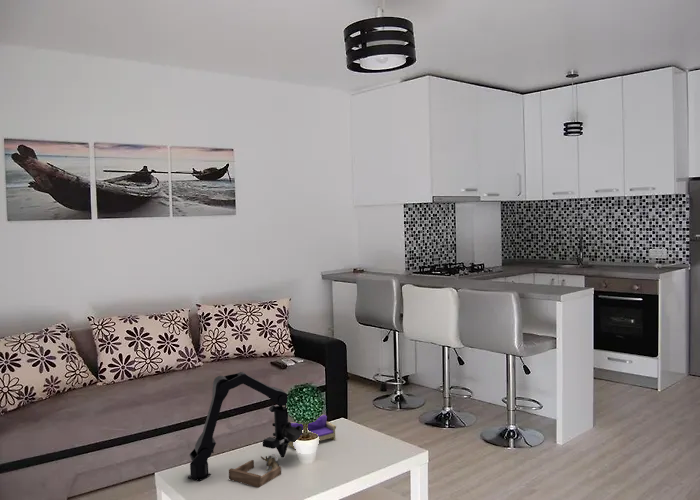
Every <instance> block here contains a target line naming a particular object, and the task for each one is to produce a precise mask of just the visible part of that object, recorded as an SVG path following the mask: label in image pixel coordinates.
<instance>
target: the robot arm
mask: <svg viewBox="0 0 700 500" xmlns="http://www.w3.org/2000/svg"><path fill="white" fill-rule="evenodd" d="M240 385H245V386H247V387H248V388H250V389H252V390H255V391H257V392H258V393H260V394H262V395H263V396H266V397H267V398H269V400H271V401H272V402H273V403H274V404H271V406H270V407H269V408H268V410H269V412H270V413H273V418H274V419H273V420H274V422H273V423H272V427H274V432H273V433H272V436H273V437H271V436H269V437H266V438H264V439H263V440H262V448H268V449H276V450H277V452H278V454H279V456H280V457H281V459H283V458H285V457H286V453H287V450H288V446H289V445H288V444H289V443H290V442H295V441H296V440H297V439H298V438H299V437H300V435H302V427H301V426H297V427H292V426H291V422H292V421H289V418H291V419H292V417H291V416H290V415H289V414H288V412H287V408H286V403H287V396H288V397H289V395H288V393H286V392H285V390H284V389H281V388H278V387H275V386H270V385H267V384H265V383H263V382H262V381H260V380H259V379H255V378H254V377H252V376H250V375H248V374H247V373H246V372H244V371H240V372H237V373H232V374H231V373H230V374H227V375H219V376H217V377H215V378H214V379H213V382H212V390H211V391H212V395H211V396H212V399H211V400H210V401H211V402H210V405H209V409H208V412H207V416H206V419H205V423H204V426H203V430H202V433H201V434H200V436H198V438H197V441H196V442H195V445H194V448H193V449H192V451H191V452H190V453H189V457H190V460H191V462H190V463H189V467H190V468H189V469H190V471H189V472H190V475H188V476H187V479H190V480H192V481H193V480H194V481H196V482H201V481H202V480H204V479H207V478H208V477H210V476H212V473H210V472H209V463H208V460H209V458H210V457H211V456H212V454H214V449H215V447H216V446H217V442H216V441H215V438H214V437H213V436H214V433H215V429H216V427H217V423H218V419H219V415H220V412H221V409H222V405H223V401H224V400H225V399H226V397H227V396H228V394H229V392H230V390H232V389H235V388H237V387H238V386H239V387H240ZM275 404H276V405H275Z"/></svg>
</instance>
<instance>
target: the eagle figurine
mask: <svg viewBox="0 0 700 500" xmlns="http://www.w3.org/2000/svg"><path fill="white" fill-rule="evenodd" d="M260 458H261V459H262V460H263V461H265V462H266V466H265V467H266V468H265V472H267V471H268V470H269V469H270V467H271V470H273V469H275V468H276V467H278V466H280V464H279V463H278V462H277V461H278V456H277V454H276V453H273V454H271V455H268V456H267V455H266V456H265V458H264V457H263V456H260Z"/></svg>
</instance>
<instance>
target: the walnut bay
mask: <svg viewBox="0 0 700 500" xmlns="http://www.w3.org/2000/svg"><path fill="white" fill-rule="evenodd" d="M254 468H255V461H254V460H253V459H251V460H249V461H247V462H245V463H243V464H242V465H239V466H238V467H236V468H229V469H228V480H229V479H230V480H229V481H232V480H234V481H233V482H236V481H238V482H237V483H240V482H242V483H241V484H244V485H247V484H248V485H249V486H252V487H255V488H260V487H262V486H263V485H265V484H267V483H268V482H270V481H272V480H273V479H276V478H278V476H280V475H282V467H281V466H280V465H279V466H278V467H276V468H275V469H273V470H272V469H271V470H270V471H268V472H266V473H264V474H263V475H261V474H255V473H251V472H249V471H250V470H253V469H254Z"/></svg>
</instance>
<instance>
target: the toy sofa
mask: <svg viewBox="0 0 700 500" xmlns="http://www.w3.org/2000/svg"><path fill="white" fill-rule="evenodd" d="M320 415H321V416H320ZM320 415H319V416H320V417H319V418H318V419H317V420H316V421H315V422H312V423H309V424H308V430H309V431H311V432H313V433H316V434H318V436H319V439H320V441H323V440H328V439H331V440H333V441H336V428H337V425H335V424H333V423H330V422H329V421H328V416H327V415H326V414H324V413H323V414H320ZM290 422H291V426H292V427H297V426H301V427H302V430H303V425H302V424H298V423H296V422H293V421H290ZM288 446H290V447H291V448H292V449H294V446H293V442H290V443H289V444H288Z"/></svg>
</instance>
